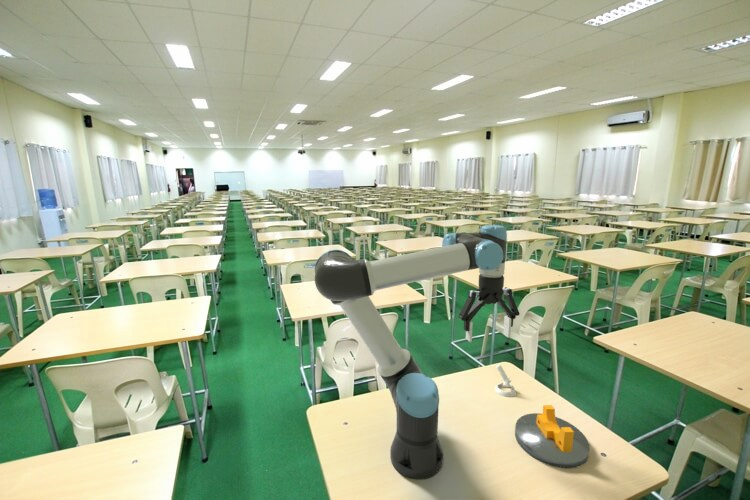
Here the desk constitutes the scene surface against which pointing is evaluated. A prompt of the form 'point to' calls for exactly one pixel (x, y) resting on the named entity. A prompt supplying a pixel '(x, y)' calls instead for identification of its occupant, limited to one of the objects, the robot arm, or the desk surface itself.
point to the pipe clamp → (555, 429)
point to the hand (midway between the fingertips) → (487, 338)
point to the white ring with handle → (504, 384)
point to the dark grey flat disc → (550, 443)
